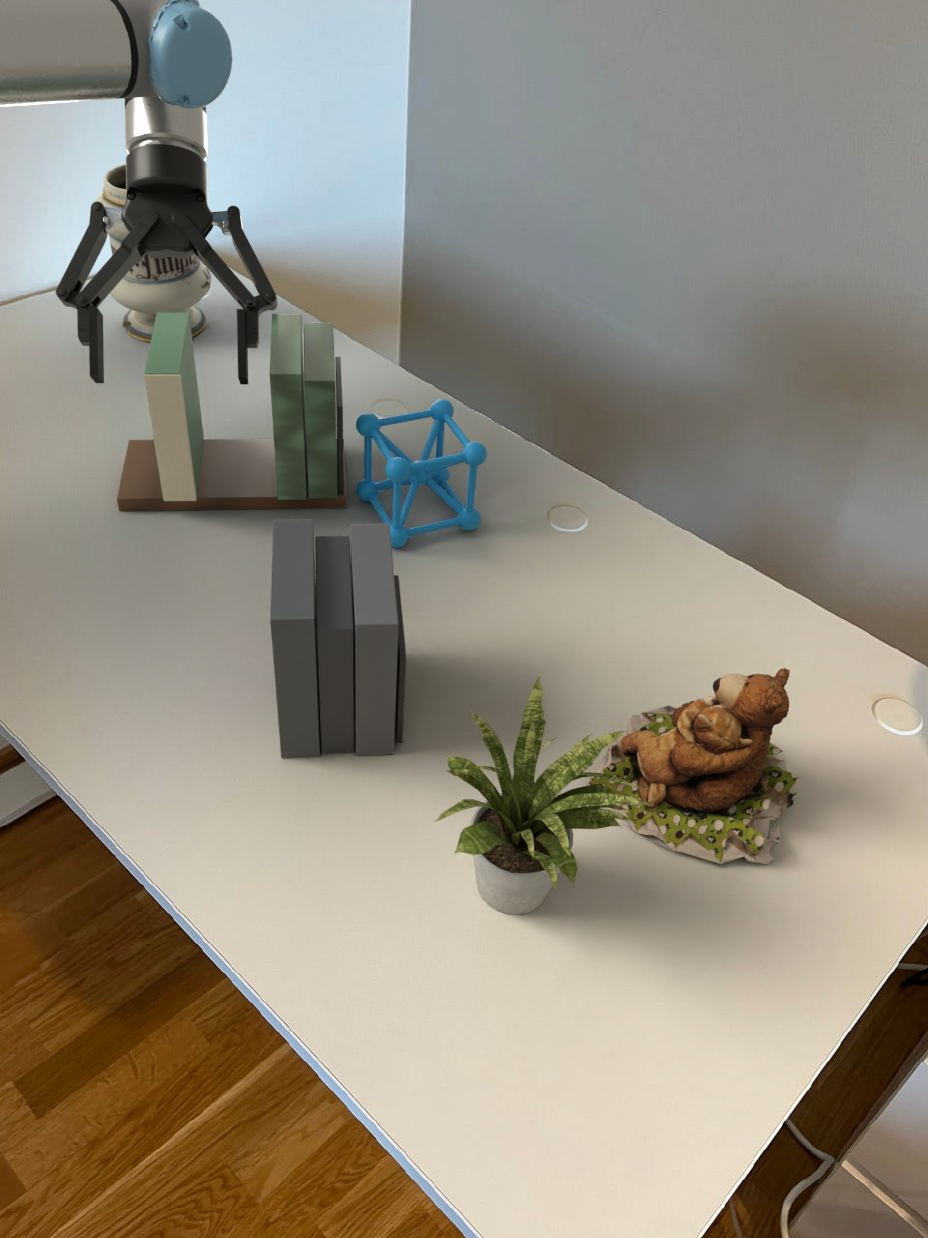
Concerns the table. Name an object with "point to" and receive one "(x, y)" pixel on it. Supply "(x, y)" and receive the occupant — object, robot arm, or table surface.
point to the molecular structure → (419, 471)
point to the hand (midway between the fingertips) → (170, 380)
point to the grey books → (336, 640)
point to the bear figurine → (708, 770)
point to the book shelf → (266, 468)
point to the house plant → (531, 812)
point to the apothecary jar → (153, 275)
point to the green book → (174, 406)
